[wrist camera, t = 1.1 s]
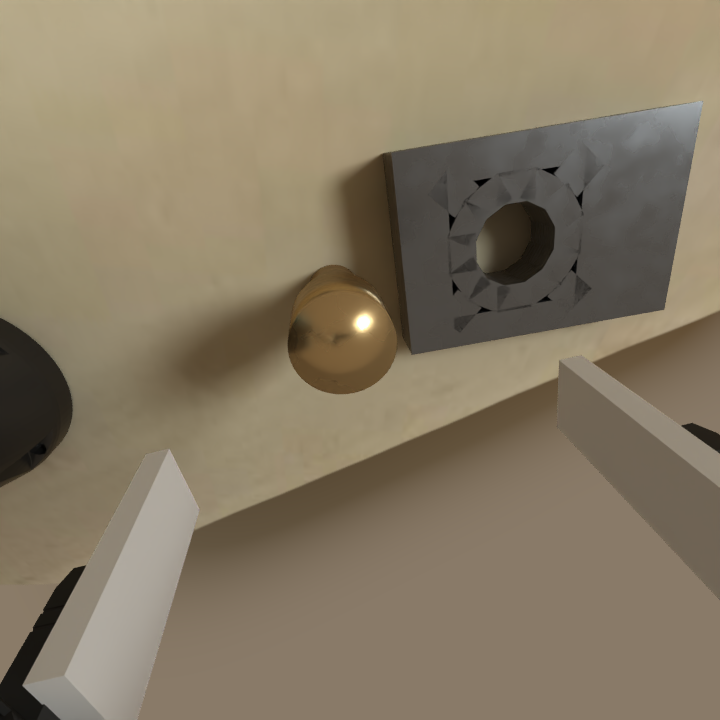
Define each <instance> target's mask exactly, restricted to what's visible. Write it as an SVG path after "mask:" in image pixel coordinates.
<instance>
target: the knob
mask: <svg viewBox="0 0 720 720" xmlns="http://www.w3.org/2000/svg"><path fill="white" fill-rule="evenodd" d="M396 351H397V335H396V330H395V327H394V324H393V322H392V320H391V318H390V316H389V314H388V312H387V310H386V308H385V306H384V304H383V302H382V300H381V298H380V296H379V294H378V293H377V291H376V290H375V289H374V288H373V286H372V285H371V284H369V283H368V282H367V281H365V280H364V279H362V278H360V277H358V276H356V275H354V274H353V273H352V272H351V271H350V270H349V269H347V268H345V267H343V266H340V265H328V266H325V267H323V268H321V269H319V270H318V271H317V272H316V273H315V274H314V275H313V276H312V278H311V280H310V282H309V283H308V284H307V285H306V286H305V287H304V288H303V289H302V290H301V291H300V293H299V294H298V296H297V298H296V300H295V302H294V305H293V309H292V315H291V323H290V330H289V337H288V353H289V358H290V361H291V363H292V365H293V367H294V369H295V371H296V372H297V374H298V375H299V376H300V377H301V378H302V379H303V380H304V381H305V382H306V383H308V384H309V385H311V386H312V387H314V388H316V389H318V390H321V391H324V392H327V393H332V394H350V393H355V392H359V391H361V390H364V389H366V388H368V387H370V386H372V385H373V384H375V383H376V382H378V381H379V380H380V379H381V378H382V377H383V376H384V375H385V374H386V373H387V371H388V370H389V369H390V367H391V365H392V363H393V361H394V358H395V355H396Z"/></svg>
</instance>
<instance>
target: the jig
mask: <svg viewBox="0 0 720 720" xmlns="http://www.w3.org/2000/svg"><path fill="white" fill-rule="evenodd" d="M702 105H703V101H699V102H693V103H686V104H679V105H673V106H666V107H660V108H654V109H647V110H641V111H635V112H629V113H623V114H617V115H611V116H605V117H599V118H593V119H587V120H581V121H575V122H569V123H563V124H557V125H551V126H545V127H539V128H533V129H527V130H521V131H515V132H509V133H502V134H496V135H490V136H484V137H478V138H472V139H466V140H460V141H454V142H448V143H442V144H436V145H430V146H424V147H418V148H412V149H406V150H400V151H394V152H388V153H383V160H384V169H385V178H386V187H387V196H388V205H389V214H390V223H391V232H392V241H393V250H394V259H395V268H396V277H397V286H398V295H399V305H400V314H401V323H402V332H403V338H404V340H405V342H406V344H407V346H408V348H409V350H410V352H411V354H412V355H413V354H419V353H424V352H430V351H435V350H441V349H447V348H452V347H458V346H463V345H469V344H475V343H480V342H486V341H491V340H497V339H502V338H508V337H514V336H519V335H525V334H530V333H536V332H542V331H547V330H553V329H558V328H564V327H570V326H575V325H581V324H586V323H592V322H598V321H603V320H609V319H614V318H620V317H625V316H631V315H637V314H642V313H648V312H653V311H659V310H664V308H665V302H666V297H667V292H668V286H669V281H670V276H671V270H672V265H673V260H674V254H675V249H676V244H677V238H678V233H679V228H680V222H681V217H682V212H683V206H684V201H685V196H686V190H687V185H688V180H689V174H690V169H691V164H692V158H693V153H694V148H695V142H696V137H697V132H698V126H699V121H700V116H701V110H702ZM517 202H518V203H521V204H522V205H523V206H524V208H525V210H526V212H527V214H528V215H529V217H530V219H531V241H530V243H529V245H528V246H527V248H526V250H525V252H524V254H523V256H522V258H521V259H520V260H518V261H517V262H516V263H514V264H513V265H512V266H510V267H509V268H508V269H506V270H505V271H499V272H494V273H488V274H486V273H484V272H482V270H481V269H480V267H479V265H478V264H477V262H476V240H477V238H478V236H479V234H480V232H481V230H482V227H483V225H484V223H485V221H486V219H488V218H489V217H490V216H491V215H493V214H494V213H495V212H496V211H498V210H499V209H500V208H502V207H503V206H504V205H506V204H511V203H517Z"/></svg>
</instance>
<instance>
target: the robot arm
mask: <svg viewBox="0 0 720 720" xmlns="http://www.w3.org/2000/svg"><path fill="white" fill-rule="evenodd" d="M71 419H72V399H71V394H70V390H69V387H68V385H67V382H66V380H65V378H64V376H63V374H62V372H61V371H60V369H59V367H58V366H57V364H56V363H55V362H54V360H53V359H52V358H51V357H50V355H49V354H48V353H47V352H46V351H45V350H44V349H43V348H42V347H41V346H40V345H39V344H38V343H37V342H36V341H34V340H33V339H32V338H31V337H30V336H28V335H27V334H26V333H24V332H23V331H21V330H20V329H18V328H17V327H15V326H14V325H12V324H10V323H9V322H7V321H5V320H3V319H1V318H0V487H2V486H4V485H6V484H8V483H9V482H11V481H13V480H15V479H17V478H19V477H21V476H22V475H24V474H26V473H28V472H30V471H31V470H33V469H34V468H36V467H37V466H38V465H39V464H41V463H42V462H43V461H44V460H45V459H46V458H47V457H48V456H49V455H50V454H51V453H52V451H53V450H54V449H55V448H56V447H57V446H58V445H59V444H60V442H61V441H62V440H63V438H64V437H65V435H66V434H67V432H68V429H69V427H70V423H71ZM557 427H558V428H559V430H560V431H561V432H562V433H563V434H564V435H565V436H566V437H567V438H568V439H569V440H570V441H571V442H572V443H573V444H574V446H575V447H577V449H578V450H579V451H580V452H581V453H582V454H583V455H584V456H585V457H586V458H587V459H588V460H589V461H590V463H591V464H592V465H593V466H594V467H595V468H596V469H597V470H598V471H599V472H600V473H601V474H602V475H603V476H604V477H605V479H606V480H607V481H608V482H609V483H610V484H611V485H612V486H613V487H614V488H615V489H616V490H617V491H618V492H619V493H620V494H621V496H622V497H623V498H624V499H625V500H626V501H627V502H628V503H629V504H630V505H631V506H632V507H633V508H634V509H635V510H636V511H637V513H639V515H640V516H641V517H642V518H643V519H644V520H645V521H646V522H647V523H648V524H649V525H650V526H651V527H652V528H653V530H654V531H655V532H656V533H657V534H658V535H659V536H660V537H661V538H662V539H663V540H664V541H665V542H666V543H667V544H668V546H669V547H671V549H672V550H673V551H674V552H675V553H676V554H677V555H678V556H679V557H680V558H681V559H682V560H683V562H684V563H685V564H686V565H687V566H688V567H689V568H690V569H691V570H692V571H693V572H694V573H695V574H696V575H697V576H698V577H699V579H701V580H702V582H703V583H704V584H705V585H706V586H707V587H708V588H709V589H710V590H711V591H712V592H713V593H714V594H715V596H716V597H717V598H718V599H719V600H720V435H719V434H718V433H716V432H713V431H711V430H708V429H706V428H703V427H701V426H698V425H696V424H693V423H690V424H686V425H682V426H680V425H679V424H677V423H676V422H675V421H673V420H672V419H670V418H669V417H667V416H666V415H665V414H663V413H662V412H660V411H659V410H658V409H656V408H655V407H653V406H652V405H651V404H649V403H648V402H646V401H645V400H644V399H642V398H641V397H639V396H638V395H636V394H635V393H634V392H632V391H631V390H630V389H628V388H627V387H625V386H624V385H622V384H621V383H620V382H618V381H617V380H615V379H614V378H613V377H611V376H610V375H608V374H607V373H606V372H604V371H603V370H601V369H600V368H599V367H597V366H596V365H594V364H593V363H592V362H590V361H589V360H587V359H586V358H585V357H583V356H582V355H580V356H576V357H571V358H567V359H562V360H559V379H558V409H557ZM199 510H200V509H199V507H198V505H197V503H196V501H195V499H194V497H193V495H192V493H191V491H190V489H189V487H188V485H187V483H186V481H185V479H184V477H183V475H182V473H181V471H180V469H179V467H178V465H177V463H176V461H175V459H174V457H173V455H172V453H171V451H170V449H166V450H161V451H157V452H153V453H148V454H146V455H145V457H144V459H143V460H142V462H141V464H140V466H139V468H138V470H137V472H136V474H135V475H134V477H133V479H132V481H131V483H130V485H129V487H128V489H127V490H126V492H125V494H124V496H123V498H122V500H121V502H120V504H119V505H118V507H117V509H116V511H115V513H114V515H113V517H112V519H111V520H110V522H109V524H108V526H107V528H106V530H105V532H104V533H103V535H102V537H101V539H100V541H99V543H98V545H97V547H96V548H95V550H94V552H93V554H92V556H91V558H90V560H89V562H88V563H87V565H86V566H81V567H77V568H74V569H73V570H72V571H71V572H70V573H69V574H68V575H67V576H66V577H65V579H64V580H63V581H62V582H61V583H60V584H59V585H58V586H57V587H56V589H55V590H54V592H53V594H52V595H51V597H50V599H49V601H48V602H47V604H46V606H45V607H44V609H43V611H44V612H43V614H40V616H39V618H38V620H37V621H36V623H35V625H34V627H33V632H30V633H29V635H28V637H27V639H26V640H25V642H24V644H23V646H22V647H21V649H20V651H19V652H18V654H17V656H16V658H15V659H14V661H13V663H12V665H11V667H10V668H9V670H8V672H7V673H6V675H5V677H4V679H3V680H2V682H1V684H0V720H137V718H138V715H139V712H140V708H141V705H142V702H143V698H144V695H145V692H146V688H147V685H148V681H149V678H150V675H151V671H152V668H153V665H154V661H155V658H156V655H157V651H158V648H159V644H160V641H161V638H162V634H163V631H164V628H165V624H166V621H167V617H168V614H169V611H170V607H171V604H172V601H173V597H174V594H175V591H176V587H177V584H178V580H179V577H180V574H181V570H182V567H183V564H184V560H185V557H186V553H187V550H188V546H189V543H190V540H191V536H192V533H193V530H194V527H195V523H196V520H197V516H198V513H199Z"/></svg>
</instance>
